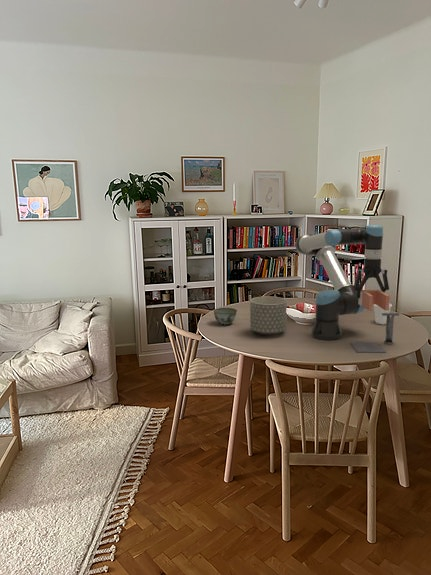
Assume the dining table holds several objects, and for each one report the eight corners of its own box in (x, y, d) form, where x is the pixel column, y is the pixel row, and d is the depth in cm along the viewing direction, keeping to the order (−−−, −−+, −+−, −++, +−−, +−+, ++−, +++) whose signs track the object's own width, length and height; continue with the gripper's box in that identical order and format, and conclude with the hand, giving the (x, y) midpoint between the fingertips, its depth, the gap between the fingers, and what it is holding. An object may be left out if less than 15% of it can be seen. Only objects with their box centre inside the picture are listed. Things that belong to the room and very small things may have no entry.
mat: (357, 352, 193) (357, 351, 193) (350, 343, 206) (350, 342, 206) (386, 352, 192) (386, 351, 192) (377, 343, 205) (377, 342, 205)
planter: (287, 329, 231) (288, 297, 228) (283, 339, 213) (284, 305, 210) (253, 327, 236) (253, 295, 233) (247, 337, 218) (247, 303, 215)
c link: (368, 310, 192) (369, 295, 191) (359, 304, 205) (360, 290, 204) (388, 310, 192) (389, 295, 191) (377, 303, 205) (378, 289, 203)
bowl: (211, 326, 240) (210, 312, 238) (216, 320, 252) (216, 307, 251) (234, 327, 236) (234, 313, 235) (239, 321, 249) (238, 308, 248)
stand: (382, 344, 204) (383, 314, 201) (379, 341, 208) (381, 312, 205) (398, 344, 203) (400, 314, 200) (395, 341, 207) (397, 312, 204)
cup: (392, 325, 233) (393, 306, 231) (373, 325, 235) (374, 306, 233) (388, 321, 243) (390, 302, 241) (370, 320, 245) (371, 302, 243)
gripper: (352, 259, 195) (350, 306, 199) (399, 258, 195) (395, 305, 199) (347, 257, 202) (345, 302, 207) (392, 256, 202) (389, 302, 207)
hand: (370, 304), depth 203 cm, fingers closed on c link, 9 cm apart
